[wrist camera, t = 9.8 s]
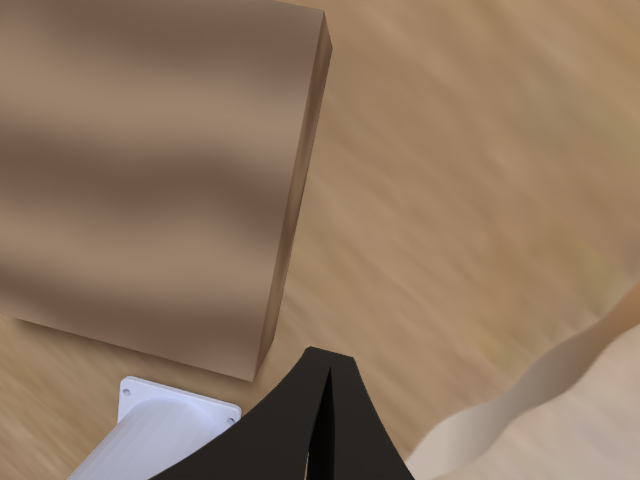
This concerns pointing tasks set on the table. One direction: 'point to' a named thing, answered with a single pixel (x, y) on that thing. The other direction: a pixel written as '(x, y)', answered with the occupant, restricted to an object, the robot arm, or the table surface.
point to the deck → (156, 169)
